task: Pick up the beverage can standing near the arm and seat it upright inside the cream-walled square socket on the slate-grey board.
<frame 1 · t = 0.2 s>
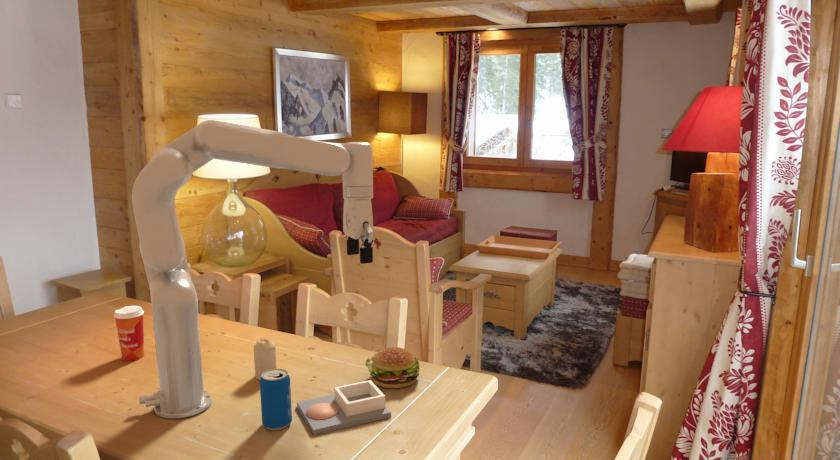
hand: (359, 258, 158), 31 cm above the table, fingers open, 9 cm apart
food: (392, 380, 160), on the table
paper cup: (133, 357, 174), on the table
beverage can: (277, 425, 138), on the table
candle: (266, 377, 162), on the table
board: (343, 411, 143), on the table
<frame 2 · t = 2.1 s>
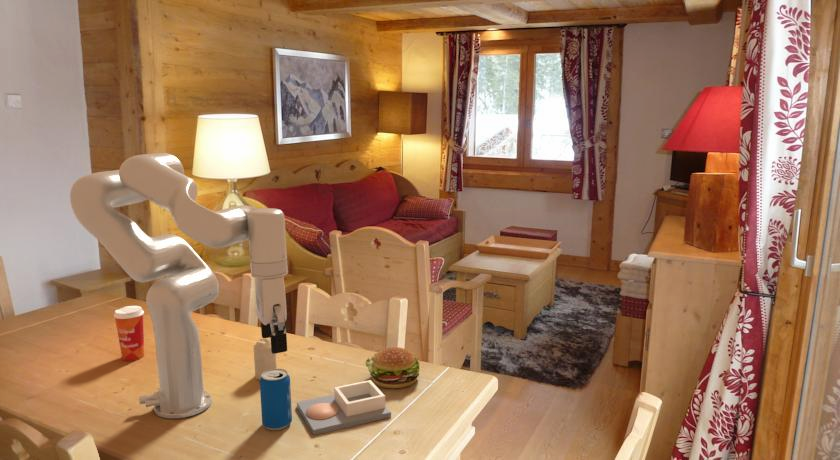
hand: (274, 344, 134), 19 cm above the table, fingers open, 9 cm apart
nothing on the table moved.
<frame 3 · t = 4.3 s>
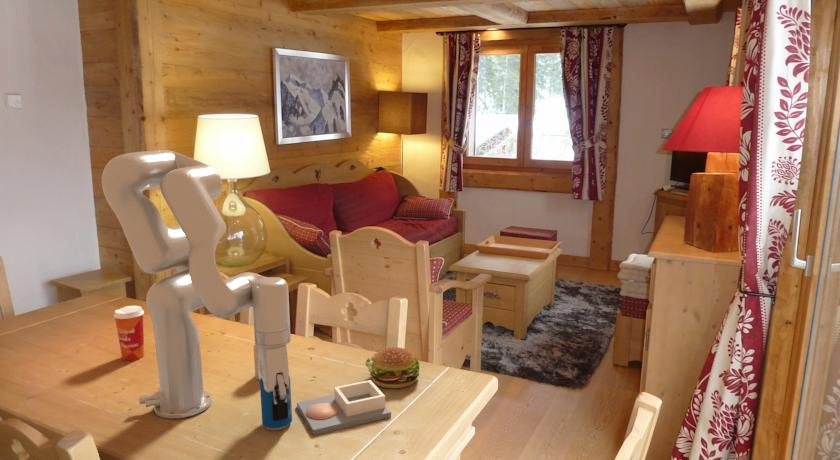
hand: (276, 411, 137), 3 cm above the table, fingers closed on beverage can, 6 cm apart
beverage can: (277, 425, 138), on the table, touching gripper
everything else where it was.
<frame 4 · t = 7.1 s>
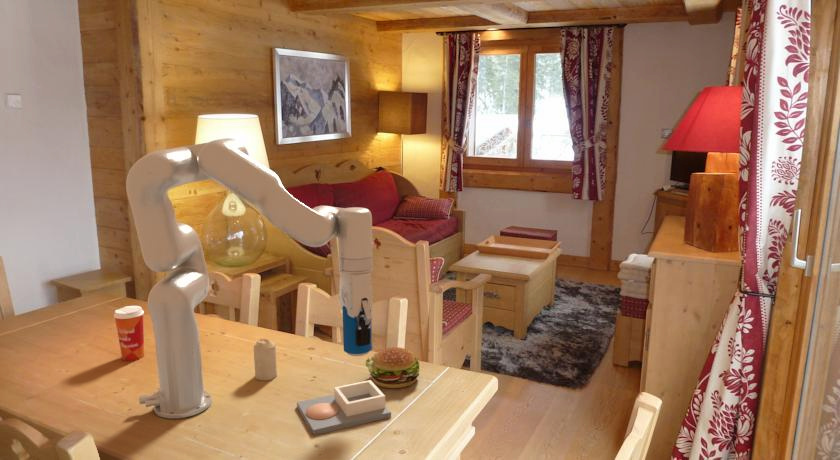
hand: (357, 338, 141), 17 cm above the table, fingers closed on beverage can, 6 cm apart
beverage can: (357, 352, 142), point 14 cm above the table, touching gripper
everything else where it was.
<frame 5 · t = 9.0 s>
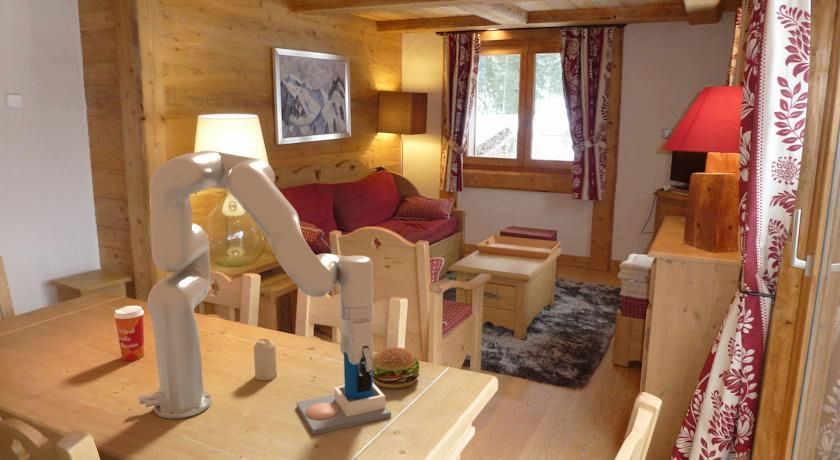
hand: (358, 383, 143), 6 cm above the table, fingers closed on beverage can, 6 cm apart
beverage can: (359, 397, 144), point 3 cm above the table, touching gripper
everything else where it was.
when the fingers open (6 cm above the table, at t = 10.0 s): beverage can drops 1 cm, resting on board.
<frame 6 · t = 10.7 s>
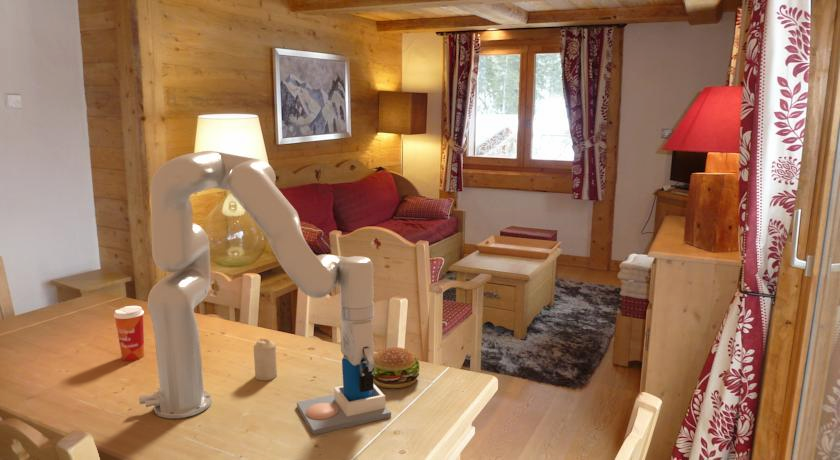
hand: (359, 381, 143), 7 cm above the table, fingers open, 9 cm apart
beverage can: (358, 403, 145), point 1 cm above the table, touching board
everything else where it was.
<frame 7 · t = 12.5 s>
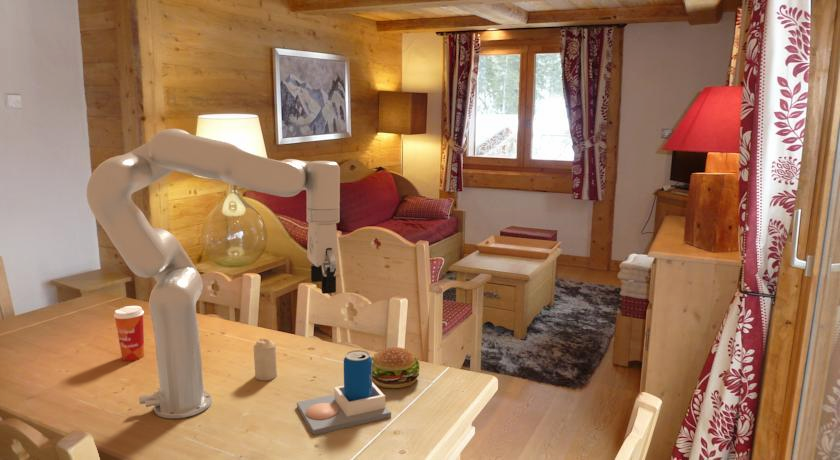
hand: (323, 286, 146), 27 cm above the table, fingers open, 9 cm apart
nothing on the table moved.
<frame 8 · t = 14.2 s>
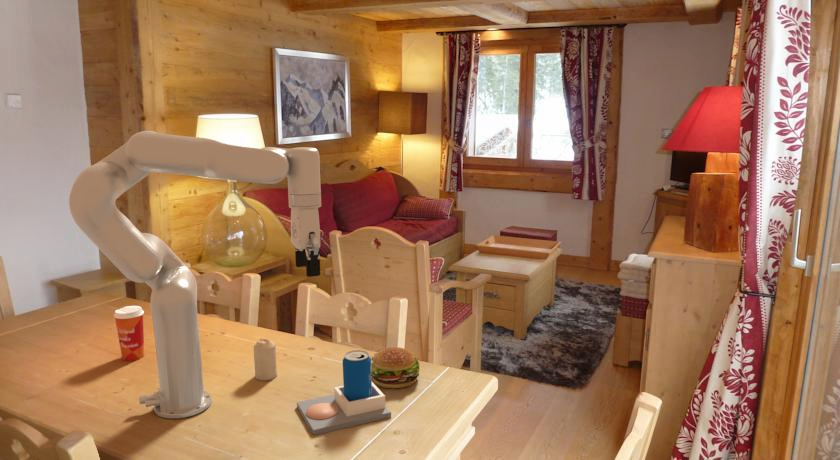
hand: (307, 271, 149), 30 cm above the table, fingers open, 9 cm apart
nothing on the table moved.
at the end: beverage can 0.3 cm from the target spot on the board, point 1.0 cm above the board's base; beverage can tilted 1°; the gripper is holding nothing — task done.
